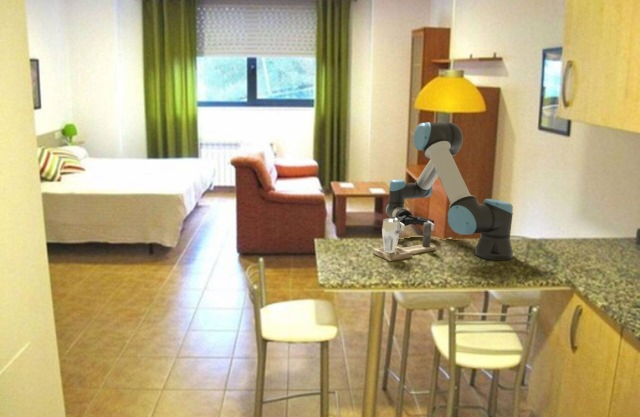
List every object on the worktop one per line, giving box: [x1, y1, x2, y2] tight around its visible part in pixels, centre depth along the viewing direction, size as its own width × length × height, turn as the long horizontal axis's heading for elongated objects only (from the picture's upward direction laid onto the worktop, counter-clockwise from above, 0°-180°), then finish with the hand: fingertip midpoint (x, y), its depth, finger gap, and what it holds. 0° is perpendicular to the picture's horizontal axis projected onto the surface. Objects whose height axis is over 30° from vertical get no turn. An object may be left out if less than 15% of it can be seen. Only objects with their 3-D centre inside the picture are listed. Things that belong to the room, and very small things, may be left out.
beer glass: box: [381, 217, 401, 255], centre depth 242 cm, size 7×7×15 cm
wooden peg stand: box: [372, 222, 436, 262], centre depth 247 cm, size 11×27×12 cm, turn 122°
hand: (418, 227), depth 261 cm, fingers open, 13 cm apart
